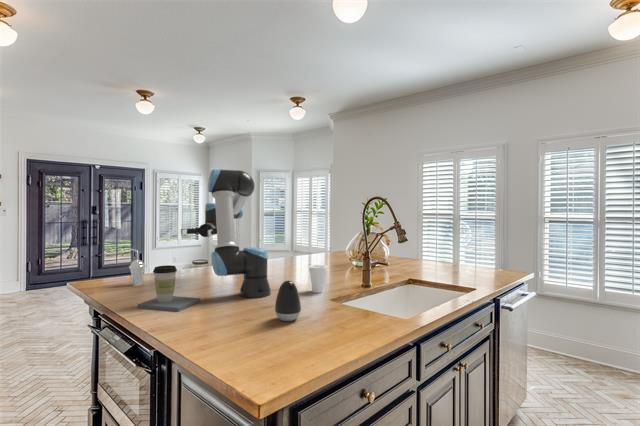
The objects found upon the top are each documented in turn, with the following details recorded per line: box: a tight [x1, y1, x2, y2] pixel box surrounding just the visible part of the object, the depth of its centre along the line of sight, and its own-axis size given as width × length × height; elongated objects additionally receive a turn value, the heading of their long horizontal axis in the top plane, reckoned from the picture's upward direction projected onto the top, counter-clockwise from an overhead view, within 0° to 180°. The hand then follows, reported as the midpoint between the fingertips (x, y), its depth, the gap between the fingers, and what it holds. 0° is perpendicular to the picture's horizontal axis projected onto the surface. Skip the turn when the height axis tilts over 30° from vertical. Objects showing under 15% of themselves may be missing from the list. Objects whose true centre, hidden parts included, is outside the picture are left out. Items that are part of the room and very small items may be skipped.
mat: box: [137, 295, 201, 312], centre depth 155 cm, size 20×16×2 cm
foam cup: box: [308, 264, 328, 294], centre depth 182 cm, size 10×9×13 cm
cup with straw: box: [128, 248, 147, 287], centre depth 193 cm, size 8×9×20 cm
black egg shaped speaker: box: [274, 280, 302, 322], centre depth 136 cm, size 10×10×15 cm
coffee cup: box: [152, 264, 178, 302], centre depth 156 cm, size 10×10×15 cm
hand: (195, 232), depth 181 cm, fingers open, 13 cm apart
